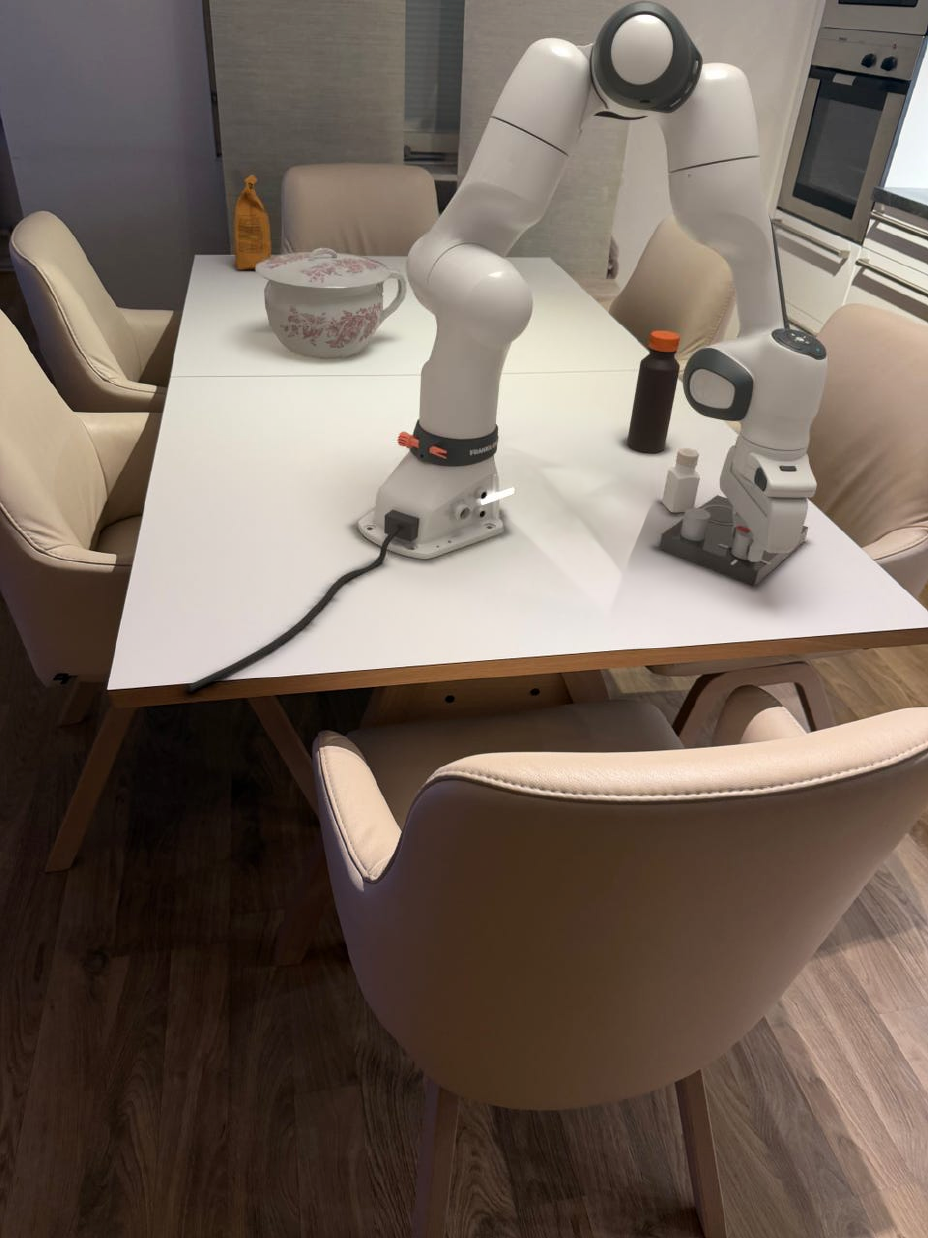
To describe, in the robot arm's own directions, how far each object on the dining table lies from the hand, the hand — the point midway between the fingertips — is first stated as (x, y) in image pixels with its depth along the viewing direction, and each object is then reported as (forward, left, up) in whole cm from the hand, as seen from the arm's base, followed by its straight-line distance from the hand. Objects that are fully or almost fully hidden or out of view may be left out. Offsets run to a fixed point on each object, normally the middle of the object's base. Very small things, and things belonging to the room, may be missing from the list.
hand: (745, 548), depth 134 cm
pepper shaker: (+11, +16, -4) cm, 20 cm away
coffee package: (+56, +169, -4) cm, 178 cm away
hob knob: (0, 0, -1) cm, 1 cm away
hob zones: (+6, +4, -1) cm, 7 cm away
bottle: (+29, +32, -4) cm, 43 cm away
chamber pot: (+23, +107, -4) cm, 109 cm away
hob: (+6, +4, -3) cm, 8 cm away
